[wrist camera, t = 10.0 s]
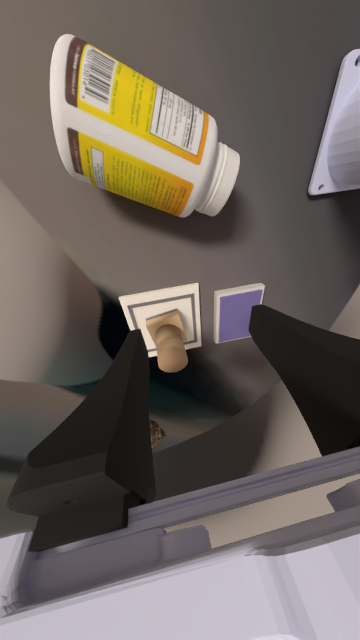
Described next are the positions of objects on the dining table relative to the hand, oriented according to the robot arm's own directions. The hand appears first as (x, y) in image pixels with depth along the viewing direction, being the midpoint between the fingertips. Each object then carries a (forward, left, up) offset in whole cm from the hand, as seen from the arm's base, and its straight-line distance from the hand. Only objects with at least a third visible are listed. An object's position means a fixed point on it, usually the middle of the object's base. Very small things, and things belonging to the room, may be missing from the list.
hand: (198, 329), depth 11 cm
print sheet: (+2, +6, -10) cm, 12 cm away
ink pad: (-7, +7, -10) cm, 14 cm away
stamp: (+2, +6, -9) cm, 12 cm away
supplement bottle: (+5, -11, -7) cm, 14 cm away
